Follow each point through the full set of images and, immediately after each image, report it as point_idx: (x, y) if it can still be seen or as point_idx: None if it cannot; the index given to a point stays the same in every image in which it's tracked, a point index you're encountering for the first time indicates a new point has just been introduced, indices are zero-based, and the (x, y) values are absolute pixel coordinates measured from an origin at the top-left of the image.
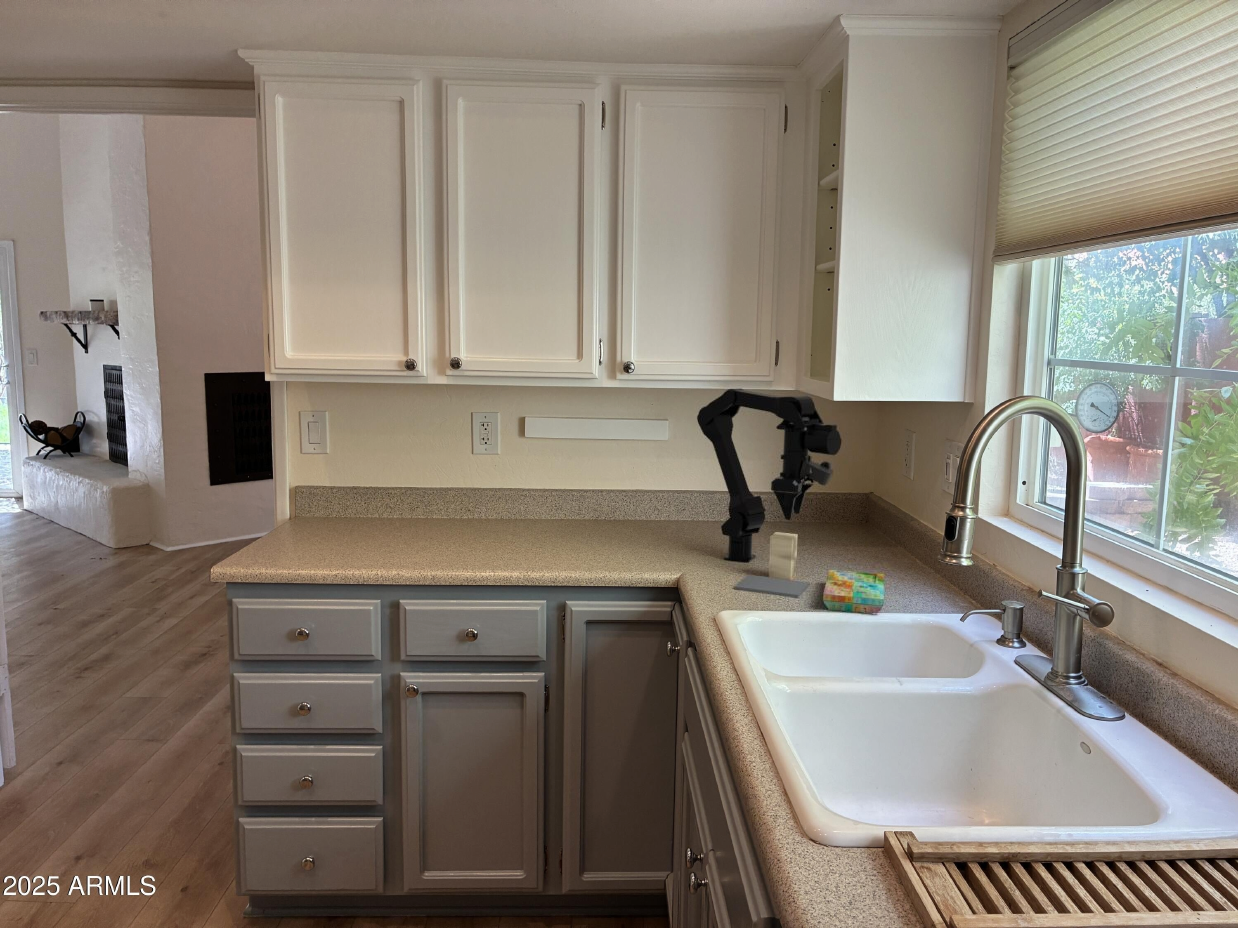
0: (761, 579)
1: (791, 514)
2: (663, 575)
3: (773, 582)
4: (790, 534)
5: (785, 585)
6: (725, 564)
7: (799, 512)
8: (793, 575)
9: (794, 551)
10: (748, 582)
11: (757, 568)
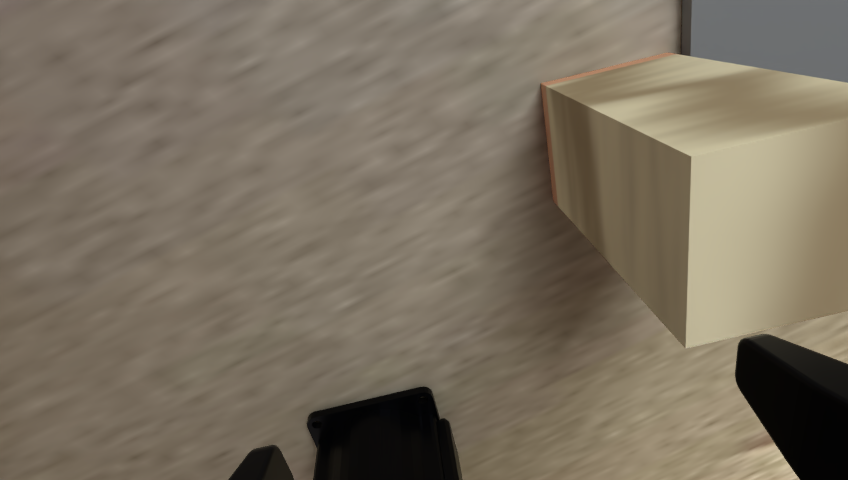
0: None
1: (845, 371)
2: (791, 474)
3: None
4: (732, 208)
5: (825, 10)
6: (517, 427)
7: (265, 453)
8: (606, 72)
9: (699, 98)
10: None
11: (496, 310)
